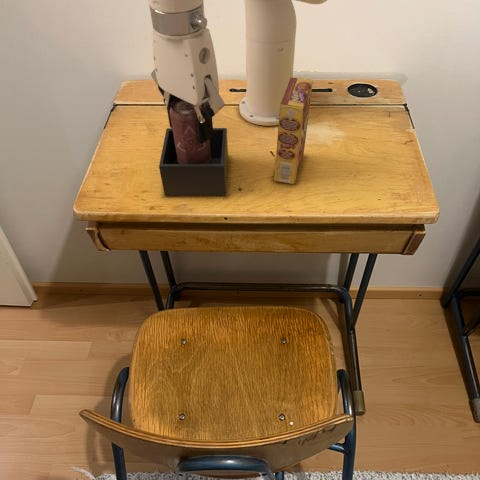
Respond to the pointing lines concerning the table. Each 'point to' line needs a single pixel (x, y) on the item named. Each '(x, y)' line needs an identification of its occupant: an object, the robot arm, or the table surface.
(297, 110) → the candy box
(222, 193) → the bin
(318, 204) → the table surface
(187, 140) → the can
